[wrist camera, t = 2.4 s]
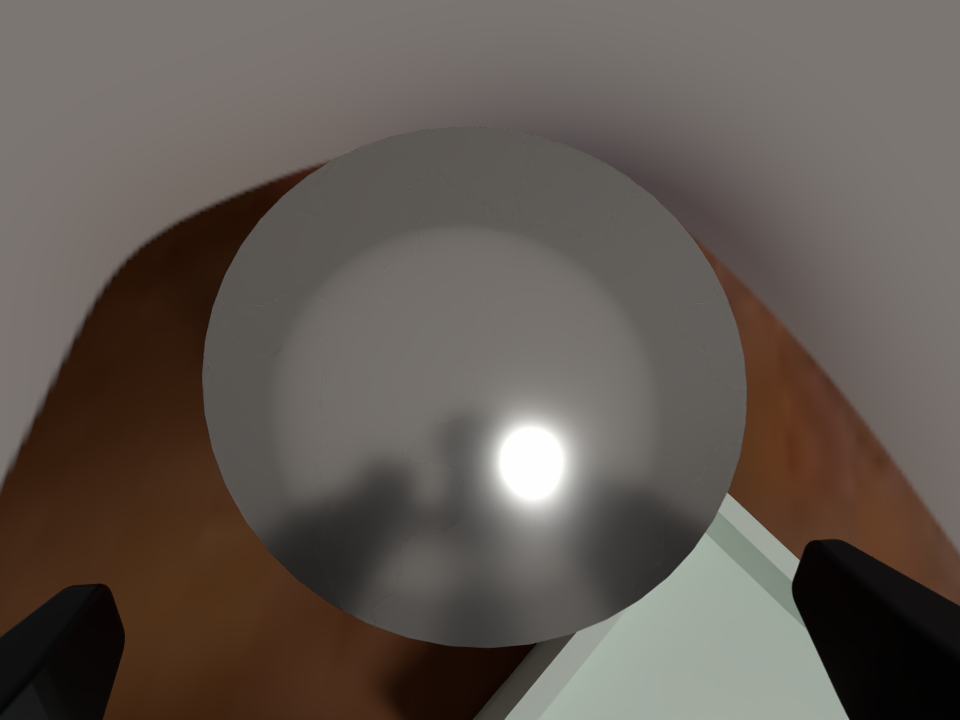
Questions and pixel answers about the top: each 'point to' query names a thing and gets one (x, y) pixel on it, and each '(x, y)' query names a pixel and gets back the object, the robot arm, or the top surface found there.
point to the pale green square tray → (687, 646)
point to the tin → (474, 387)
